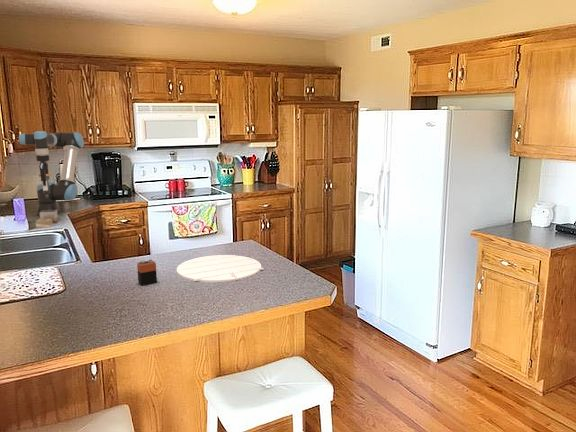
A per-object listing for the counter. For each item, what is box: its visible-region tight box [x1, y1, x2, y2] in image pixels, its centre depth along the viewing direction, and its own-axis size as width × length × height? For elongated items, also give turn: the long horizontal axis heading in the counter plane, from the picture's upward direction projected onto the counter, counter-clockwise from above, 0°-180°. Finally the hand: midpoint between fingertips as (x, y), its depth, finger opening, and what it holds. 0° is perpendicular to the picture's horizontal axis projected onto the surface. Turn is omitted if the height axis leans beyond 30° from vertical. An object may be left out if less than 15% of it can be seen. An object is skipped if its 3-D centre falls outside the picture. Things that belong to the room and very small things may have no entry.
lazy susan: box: [176, 254, 265, 283], centre depth 222 cm, size 40×39×3 cm
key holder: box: [35, 218, 53, 229], centre depth 311 cm, size 8×8×4 cm
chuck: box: [39, 210, 62, 224], centre depth 324 cm, size 12×12×8 cm
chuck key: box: [38, 173, 52, 198], centre depth 319 cm, size 4×8×16 cm, turn 104°
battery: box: [136, 259, 158, 287], centre depth 201 cm, size 4×7×10 cm, turn 126°
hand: (46, 189), depth 320 cm, fingers closed on chuck key, 4 cm apart
